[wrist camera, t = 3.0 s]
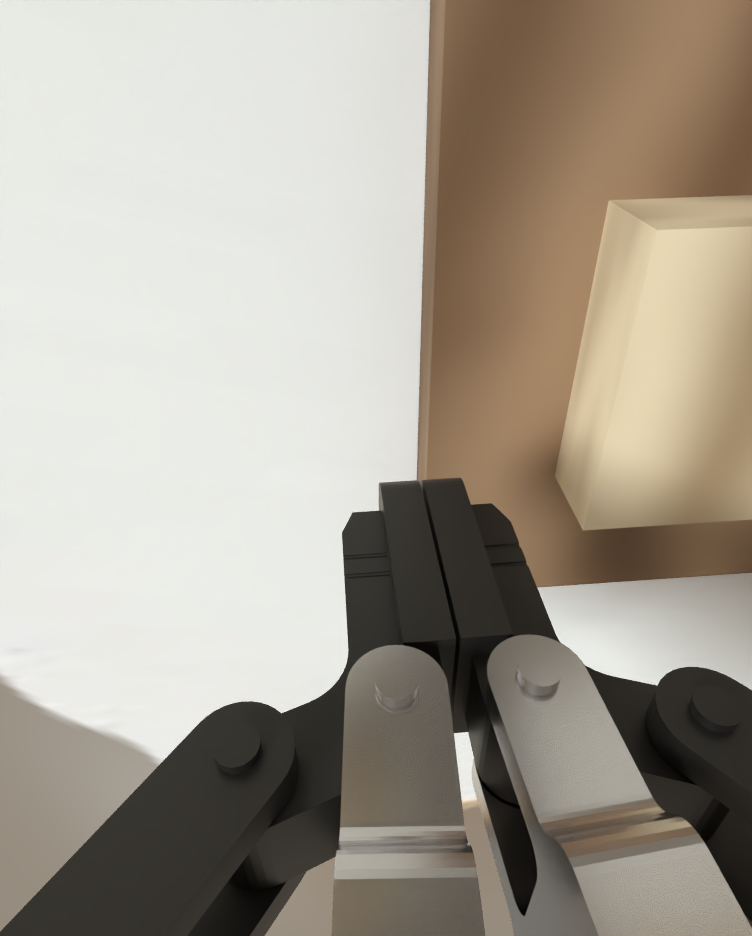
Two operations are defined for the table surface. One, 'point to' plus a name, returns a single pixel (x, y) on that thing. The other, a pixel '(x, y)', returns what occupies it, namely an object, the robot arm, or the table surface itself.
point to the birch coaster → (664, 369)
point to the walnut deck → (560, 240)
